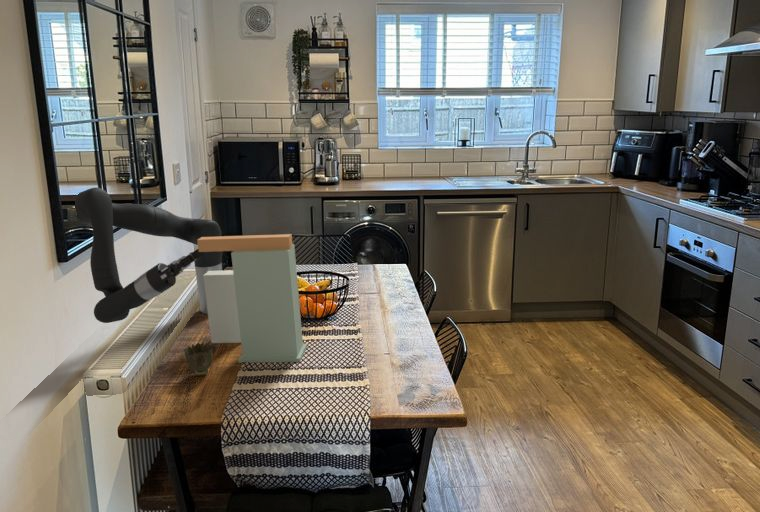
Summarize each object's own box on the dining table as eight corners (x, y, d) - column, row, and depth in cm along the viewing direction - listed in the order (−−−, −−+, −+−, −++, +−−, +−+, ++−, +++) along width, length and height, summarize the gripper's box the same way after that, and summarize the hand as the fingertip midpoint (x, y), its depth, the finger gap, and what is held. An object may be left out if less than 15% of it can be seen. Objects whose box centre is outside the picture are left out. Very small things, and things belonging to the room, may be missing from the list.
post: (216, 337, 197) (208, 270, 191) (247, 336, 196) (240, 269, 190) (211, 343, 192) (203, 275, 186) (242, 342, 191) (235, 274, 186)
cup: (220, 370, 172) (217, 343, 170) (205, 381, 165) (201, 354, 163) (198, 367, 174) (194, 341, 172) (182, 378, 168) (178, 351, 166)
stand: (248, 347, 187) (237, 244, 179) (307, 346, 185) (298, 243, 178) (238, 362, 176) (225, 254, 168) (300, 361, 175) (290, 252, 167)
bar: (203, 249, 176) (201, 237, 175) (292, 246, 174) (291, 234, 173) (198, 251, 173) (197, 239, 172) (290, 249, 171) (288, 236, 170)
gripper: (135, 278, 170) (180, 248, 167) (157, 264, 184) (199, 236, 181) (152, 300, 172) (197, 270, 168) (172, 285, 185) (214, 257, 182)
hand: (198, 253), depth 175 cm, fingers open, 8 cm apart
